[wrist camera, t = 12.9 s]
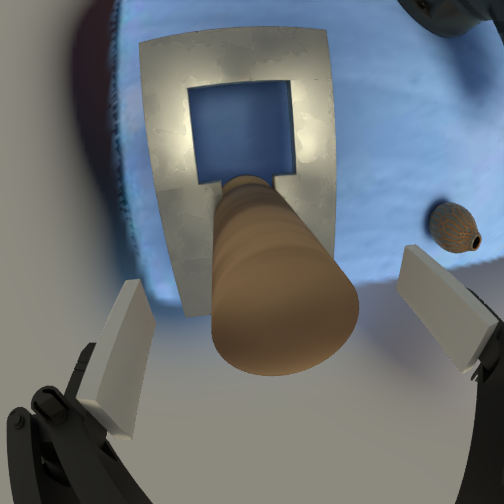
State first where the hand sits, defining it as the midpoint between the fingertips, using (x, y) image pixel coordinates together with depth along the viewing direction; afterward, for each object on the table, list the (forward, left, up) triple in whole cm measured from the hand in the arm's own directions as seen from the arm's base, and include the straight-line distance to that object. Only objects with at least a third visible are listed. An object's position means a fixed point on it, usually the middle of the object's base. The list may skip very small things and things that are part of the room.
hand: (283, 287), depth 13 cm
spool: (0, 0, -14) cm, 14 cm away
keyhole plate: (-3, 0, -19) cm, 19 cm away
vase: (+6, +29, -19) cm, 35 cm away
